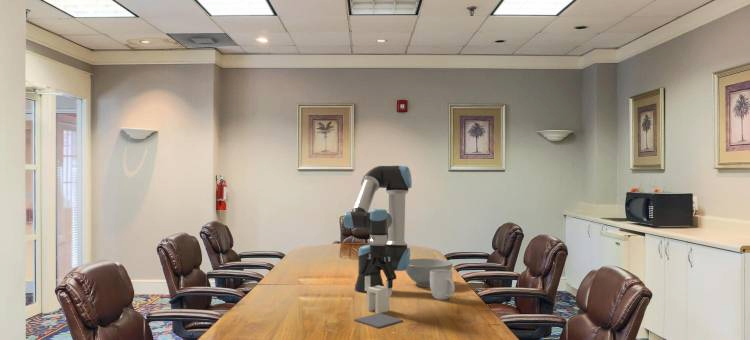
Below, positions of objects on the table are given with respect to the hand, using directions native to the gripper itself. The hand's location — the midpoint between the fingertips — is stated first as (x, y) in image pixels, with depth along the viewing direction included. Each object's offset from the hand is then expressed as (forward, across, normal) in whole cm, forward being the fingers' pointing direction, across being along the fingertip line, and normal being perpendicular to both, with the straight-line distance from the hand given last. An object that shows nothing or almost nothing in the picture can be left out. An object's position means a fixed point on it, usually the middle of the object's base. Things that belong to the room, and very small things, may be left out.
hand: (377, 293), depth 225 cm
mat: (+8, +12, -10) cm, 18 cm away
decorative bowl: (+7, -21, +58) cm, 62 cm away
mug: (+7, +5, +38) cm, 39 cm away
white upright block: (+8, 0, 0) cm, 8 cm away
